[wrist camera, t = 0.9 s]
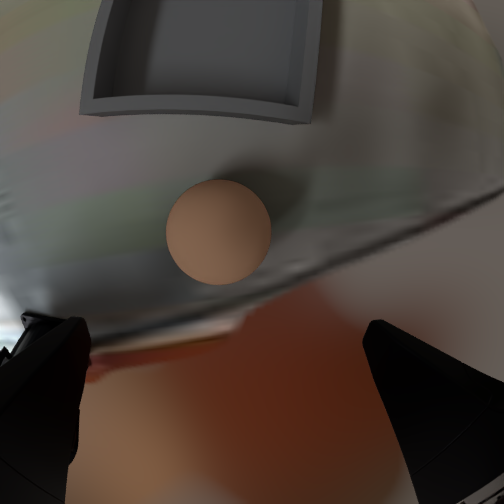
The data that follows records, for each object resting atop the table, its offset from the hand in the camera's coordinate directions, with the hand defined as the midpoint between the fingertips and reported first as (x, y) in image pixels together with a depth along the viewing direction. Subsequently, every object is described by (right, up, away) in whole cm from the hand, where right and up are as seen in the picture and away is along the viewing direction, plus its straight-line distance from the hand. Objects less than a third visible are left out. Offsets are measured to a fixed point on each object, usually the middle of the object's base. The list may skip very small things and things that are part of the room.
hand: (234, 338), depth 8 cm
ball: (-1, +4, +8) cm, 9 cm away
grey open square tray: (-2, +17, +5) cm, 18 cm away
